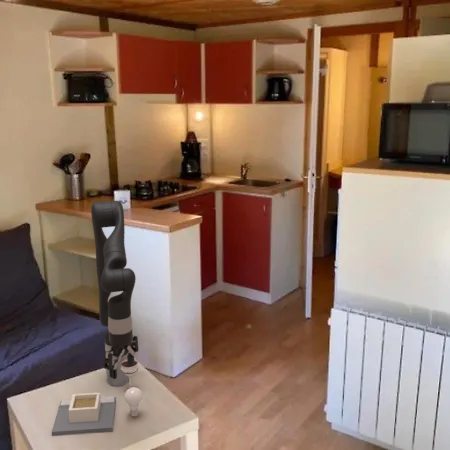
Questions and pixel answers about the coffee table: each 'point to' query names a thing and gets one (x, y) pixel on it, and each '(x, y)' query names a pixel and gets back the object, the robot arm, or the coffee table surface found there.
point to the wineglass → (129, 370)
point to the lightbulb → (133, 399)
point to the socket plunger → (85, 403)
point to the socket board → (85, 415)
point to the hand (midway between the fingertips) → (122, 371)
